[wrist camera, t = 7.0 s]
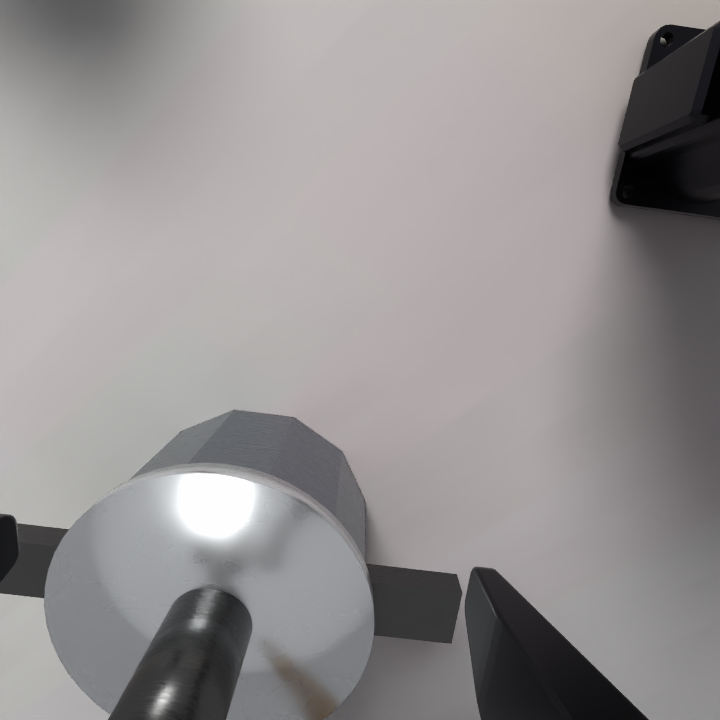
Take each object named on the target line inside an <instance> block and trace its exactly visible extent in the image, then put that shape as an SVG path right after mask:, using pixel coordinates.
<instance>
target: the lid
mask: <svg viewBox="0 0 720 720" xmlns="http://www.w3.org/2000/svg"><path fill="white" fill-rule="evenodd" d="M44 608H45V616H46V623H47V627H48V631H49V634H50V638H51V641H52V644H53V646H54V648H55V650H56V653H57V655H58V657H59V659H60V661H61V662H62V664H63V666H64V667H65V669H66V670H67V672H68V674H69V675H70V676H71V678H72V679H73V680H74V681H75V682H76V684H77V685H78V686H79V687H80V689H81V690H82V691H83V692H84V693H85V694H86V695H87V696H88V697H89V698H90V699H91V700H92V701H94V702H95V703H96V704H97V705H98V706H100V707H101V708H102V709H103V710H105V711H106V712H107V713H109V714H110V717H109V719H108V720H323V719H324V718H326V717H327V716H329V715H330V714H331V713H332V712H333V711H334V710H335V709H336V708H338V707H339V706H340V705H341V704H342V703H343V702H344V700H345V699H346V698H347V697H348V696H349V694H350V693H351V692H352V691H353V689H354V688H355V686H356V684H357V683H358V681H359V679H360V678H361V676H362V674H363V672H364V670H365V667H366V665H367V662H368V660H369V656H370V652H371V648H372V644H373V636H374V601H373V589H372V584H371V580H370V576H369V571H368V569H367V566H366V564H365V561H364V559H363V556H362V554H361V552H360V550H359V549H358V547H357V545H356V543H355V542H354V540H353V538H352V537H351V535H350V534H349V533H348V531H347V530H346V529H345V528H344V526H343V525H342V524H341V522H340V521H339V520H338V519H337V518H336V517H335V516H334V515H333V514H332V513H331V512H330V511H329V510H328V509H327V508H326V507H325V506H323V505H322V504H321V503H319V502H318V501H317V500H315V499H314V498H313V497H311V496H310V495H309V494H307V493H306V492H304V491H302V490H300V489H299V488H297V487H295V486H294V485H292V484H290V483H288V482H286V481H284V480H281V479H279V478H277V477H274V476H272V475H270V474H267V473H263V472H260V471H257V470H254V469H250V468H246V467H240V466H235V465H229V464H219V463H190V464H179V465H174V466H169V467H163V468H159V469H156V470H153V471H150V472H147V473H144V474H141V475H138V476H136V477H134V478H132V479H130V480H128V481H126V482H124V483H122V484H120V485H119V486H117V487H116V488H114V489H113V490H111V491H110V492H108V493H107V494H105V495H104V496H103V497H102V498H101V499H100V500H99V501H98V502H97V503H95V504H94V505H93V506H92V507H91V508H90V509H89V510H88V511H87V512H86V513H84V514H83V515H82V516H81V517H80V518H79V519H78V520H77V521H76V522H75V523H74V524H73V526H72V527H71V528H70V529H69V531H68V532H67V533H66V534H65V536H64V537H63V539H62V540H61V542H60V544H59V546H58V548H57V549H56V551H55V553H54V556H53V558H52V561H51V564H50V566H49V569H48V573H47V579H46V584H45V596H44Z"/></svg>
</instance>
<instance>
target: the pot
mask: <svg viewBox="0 0 720 720" xmlns="http://www.w3.org/2000/svg"><path fill="white" fill-rule="evenodd" d="M190 463H219V464H229V465H235V466H240V467H246V468H250V469H254V470H257V471H260V472H263V473H267V474H270V475H272V476H274V477H277V478H279V479H281V480H284V481H286V482H288V483H290V484H292V485H294V486H295V487H297V488H299V489H300V490H302V491H304V492H306V493H307V494H309V495H310V496H311V497H313V498H314V499H315V500H317V501H318V502H319V503H321V504H322V505H323V506H325V507H326V508H327V509H328V510H329V511H330V512H331V513H332V514H333V515H334V516H335V517H336V518H337V519H338V520H339V521H340V522H341V524H342V525H343V526H344V528H345V529H346V530H347V531H348V533H349V534H350V535H351V537H352V538H353V540H354V542H355V543H356V545H357V547H358V549H359V550H360V552H361V554H362V556H363V559H364V561H365V499H364V497H363V495H362V493H361V491H360V489H359V486H358V484H357V482H356V480H355V478H354V476H353V473H352V471H351V469H350V467H349V465H348V463H347V460H346V458H345V456H344V454H343V452H342V451H341V450H340V449H338V448H337V447H336V446H334V445H333V444H331V443H330V442H328V441H327V440H326V439H324V438H323V437H321V436H320V435H319V434H317V433H316V432H314V431H313V430H311V429H310V428H309V427H307V426H306V425H304V424H303V423H301V422H300V421H299V420H297V419H296V418H294V417H287V416H279V415H271V414H263V413H255V412H246V411H238V410H233V411H230V412H228V413H226V414H223V415H221V416H218V417H216V418H213V419H211V420H208V421H206V422H203V423H201V424H198V425H196V426H193V427H191V428H189V429H186V430H184V431H181V432H180V433H179V434H178V435H177V436H176V437H175V438H174V439H172V440H171V441H170V442H169V443H168V444H167V445H166V446H165V447H164V448H163V449H162V450H161V451H160V452H159V453H157V454H156V455H155V456H154V457H153V458H152V459H151V460H150V461H149V462H148V463H147V464H146V465H145V466H144V467H142V468H141V469H140V470H139V471H138V472H137V473H136V474H135V475H134V476H133V477H132V478H134V477H136V476H138V475H141V474H144V473H147V472H150V471H153V470H156V469H159V468H163V467H169V466H174V465H179V464H190ZM132 478H131V479H132ZM17 530H18V540H19V556H18V559H17V561H16V563H15V565H14V566H13V567H12V569H11V570H10V571H9V573H8V574H7V575H6V576H5V578H4V579H3V580H2V582H1V583H0V593H3V594H12V595H21V596H30V597H39V598H44V596H45V584H46V579H47V573H48V569H49V566H50V564H51V561H52V558H53V556H54V553H55V551H56V549H57V548H58V546H59V544H60V542H61V540H62V539H63V537H64V536H65V534H66V533H67V532H68V531H69V529H61V528H52V527H43V526H35V525H26V524H17ZM366 566H367V569H368V571H369V576H370V580H371V584H372V589H373V601H374V635H379V636H388V637H397V638H406V639H415V640H424V641H433V642H442V643H452V638H453V633H454V629H455V624H456V619H457V615H458V610H459V606H460V601H461V596H462V590H461V587H460V584H459V580H458V577H457V574H450V573H441V572H433V571H424V570H415V569H407V568H398V567H389V566H381V565H372V564H366Z"/></svg>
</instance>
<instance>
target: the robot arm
mask: <svg viewBox="0 0 720 720" xmlns="http://www.w3.org/2000/svg"><path fill="white" fill-rule="evenodd" d="M661 37H662V38H664V39H665V40H666V47H663V46H662V45H661V43H660V38H661ZM618 145H619V148H620V156H619V160H618V164H617V168H616V172H615V176H614V180H613V184H612V188H611V193H610V197H611V200H612V202H613V203H614V204H616V205H619V206H626V207H633V208H641V209H648V210H655V211H663V212H670V213H677V214H684V215H692V216H699V217H706V218H714V219H720V21H719V22H717V23H716V24H714V25H713V26H711V27H710V28H708V29H707V30H704V29H697V28H690V27H683V26H677V25H665V26H663V27H661V28H660V29H658V30H657V31H656V32H655V33H653V34H652V36H651V37H650V38H649V40H648V43H647V47H646V51H645V55H644V59H643V63H642V67H641V71H640V75H639V76H638V77H637V78H635V80H634V82H633V87H632V91H631V95H630V99H629V103H628V107H627V111H626V115H625V119H624V123H623V127H622V131H621V135H620V139H619V144H618ZM624 187H626V188H627V189H628V195H627V197H626V198H625V197H623V195H622V189H623V188H624ZM18 556H19V540H18V530H17V522H16V519H15V518H14V516H12V515H8V514H0V583H1V582H2V580H3V579H4V578H5V576H6V575H7V574H8V573H9V571H10V570H11V569H12V567H13V566H14V565H15V563H16V561H17V559H18ZM465 618H466V626H467V633H468V640H469V647H470V655H471V662H472V669H473V676H474V684H475V690H476V697H477V703H478V708H479V712H480V717H481V720H649V719H648V718H647V717H646V716H644V715H643V714H642V713H641V712H640V711H639V710H638V709H637V708H636V707H635V706H634V705H633V704H632V703H631V702H630V701H629V700H628V699H627V698H626V697H625V696H624V695H623V694H622V693H621V692H620V691H619V690H618V689H617V688H616V687H615V686H614V685H613V684H612V683H611V682H610V681H609V680H608V679H607V678H606V677H605V676H604V675H603V674H602V673H601V672H600V671H598V670H597V669H596V668H595V667H594V666H593V665H592V664H591V663H590V662H589V661H588V660H587V659H586V658H585V657H584V656H583V655H582V654H581V653H580V652H579V651H578V650H577V649H576V648H575V647H574V646H573V645H572V644H571V643H570V642H569V641H568V640H567V639H566V638H565V637H564V636H563V635H562V634H561V633H560V632H559V631H558V630H557V629H556V628H555V627H554V626H552V625H551V624H550V623H549V622H548V621H547V620H546V619H545V618H544V617H543V616H542V615H541V614H540V613H539V612H538V611H537V610H536V609H535V608H534V607H533V606H532V605H531V604H530V603H529V602H528V601H527V600H526V599H525V598H524V597H523V596H522V595H521V594H520V593H519V592H518V591H517V590H516V589H515V588H514V587H513V586H512V585H511V584H510V583H509V582H508V581H506V580H505V579H504V578H503V577H502V576H501V575H500V574H499V573H498V572H497V571H496V570H495V569H492V568H484V567H474V568H473V569H472V571H471V574H470V579H469V584H468V589H467V594H466V599H465Z"/></svg>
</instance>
